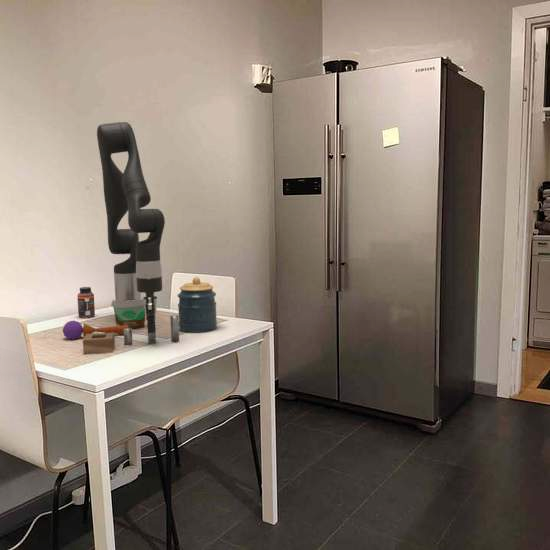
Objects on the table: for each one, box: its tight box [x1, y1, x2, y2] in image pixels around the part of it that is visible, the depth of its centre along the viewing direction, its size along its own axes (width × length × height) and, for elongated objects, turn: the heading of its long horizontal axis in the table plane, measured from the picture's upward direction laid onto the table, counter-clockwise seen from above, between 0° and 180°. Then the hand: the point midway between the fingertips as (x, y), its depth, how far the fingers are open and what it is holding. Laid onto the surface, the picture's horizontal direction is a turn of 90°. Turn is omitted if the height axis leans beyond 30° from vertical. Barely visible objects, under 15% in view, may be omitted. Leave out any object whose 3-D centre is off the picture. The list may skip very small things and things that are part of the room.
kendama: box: [62, 320, 128, 340], centre depth 177 cm, size 6×6×20 cm
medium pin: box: [169, 314, 180, 343], centre depth 170 cm, size 2×2×8 cm
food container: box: [110, 298, 146, 331], centre depth 188 cm, size 12×6×10 cm, turn 114°
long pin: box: [146, 314, 157, 345], centre depth 168 cm, size 2×2×12 cm
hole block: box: [82, 332, 116, 355], centre depth 162 cm, size 8×8×4 cm
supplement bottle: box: [77, 286, 96, 319], centre depth 209 cm, size 6×6×11 cm
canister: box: [177, 276, 218, 333], centre depth 186 cm, size 13×13×18 cm
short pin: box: [123, 328, 134, 346], centre depth 167 cm, size 2×2×5 cm
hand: (151, 331), depth 168 cm, fingers closed on long pin, 2 cm apart
